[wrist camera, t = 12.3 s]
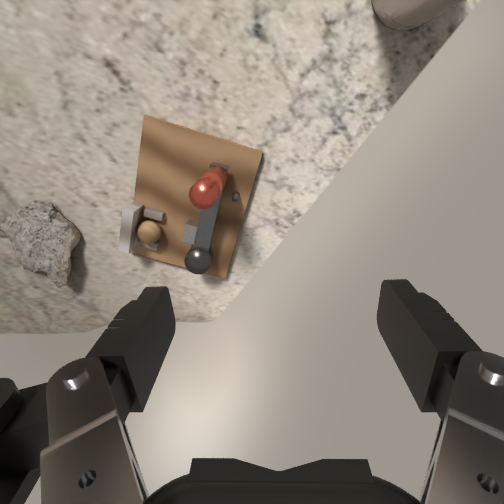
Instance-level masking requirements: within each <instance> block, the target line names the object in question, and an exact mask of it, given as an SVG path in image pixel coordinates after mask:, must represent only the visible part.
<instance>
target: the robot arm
mask: <svg viewBox="0 0 504 504" xmlns="http://www.w3.org/2000/svg"><path fill="white" fill-rule="evenodd" d="M464 1H466V0H372V4H373V7H374V10H375V13H376V14H377V16H378V17H379V19H380V20H381V21H382V22H383V23H384V24H385V25H386V26H388V27H390V28H392V29H396V30H409V29H413V28H416V27H418V26H420V25H422V24H424V23H426V22H427V21H429V20H431V19H433V18H435V17H437V16H439V15H441V14H442V13H444V12H446V11H448V10H450V9H451V8H453V7H455V6H457V5H459V4H460V3H462V2H464ZM377 324H378V329H379V331H380V333H381V335H382V337H383V339H384V341H385V343H386V345H387V347H388V349H389V351H390V353H391V355H392V356H393V358H394V360H395V362H396V364H397V366H398V368H399V370H400V372H401V374H402V376H403V378H404V380H405V382H406V383H407V385H408V387H409V389H410V391H411V393H412V395H413V397H414V399H415V401H416V402H417V405H418V407H419V409H420V410H421V412H437V413H438V415H439V417H440V418H441V421H440V424H439V427H438V431H437V435H436V439H435V442H434V447H433V450H432V454H431V458H430V461H429V466H428V469H427V473H426V476H425V480H424V484H423V487H422V491H421V494H420V497H419V501H418V500H417V499H416V498H415V497H413V496H412V495H410V494H409V493H407V492H406V491H404V490H403V489H401V488H400V487H397V486H396V485H394V484H392V483H390V482H388V481H386V480H383V479H381V478H379V477H376V476H372V474H371V470H370V467H369V463H368V460H367V459H321V460H318V461H315V462H311V463H308V464H304V465H301V466H298V467H294V468H291V469H287V470H284V471H274V470H271V469H268V468H264V467H261V466H257V465H254V464H251V463H248V462H244V461H241V460H238V459H233V458H232V459H230V458H229V459H228V458H193V459H192V463H191V468H190V473H189V474H187V475H184V476H181V477H179V478H177V479H174V480H172V481H171V482H169V483H167V484H165V485H164V486H162V487H161V488H160V489H158V490H157V491H155V492H154V493H153V494H151V495H150V496H149V494H148V491H147V489H146V486H145V483H144V480H143V477H142V474H141V471H140V468H139V465H138V462H137V459H136V455H135V452H134V449H133V446H132V443H131V440H130V437H129V433H128V430H127V427H126V425H125V420H126V418H127V416H128V414H129V412H143V410H144V408H145V405H146V403H147V400H148V398H149V395H150V393H151V390H152V388H153V386H154V383H155V381H156V378H157V376H158V373H159V371H160V368H161V366H162V363H163V361H164V358H165V356H166V354H167V351H168V349H169V346H170V344H171V341H172V339H173V337H174V333H175V316H174V312H173V307H172V302H171V298H170V293H169V290H168V288H167V287H166V286H163V287H146V288H145V289H144V290H143V292H142V293H141V295H140V296H139V297H138V299H137V300H132V301H131V302H129V303H128V304H127V305H125V306H124V307H123V308H121V309H120V311H119V312H118V313H117V315H116V316H115V317H114V320H113V321H111V323H110V324H109V326H108V329H106V330H105V331H104V332H103V334H102V335H101V337H100V338H99V339H98V341H97V342H96V343H95V345H94V346H93V347H92V349H91V350H90V352H89V353H88V354H87V356H86V357H85V358H81V359H77V360H75V361H72V362H70V363H68V364H66V365H64V366H63V367H61V368H60V369H59V370H57V371H56V372H55V373H54V374H53V375H52V377H51V378H50V379H49V381H48V382H47V383H43V384H40V385H36V386H32V387H28V388H24V389H21V390H18V388H17V387H16V385H15V383H14V382H13V380H11V379H9V378H0V504H24V503H25V502H26V500H27V498H28V496H29V495H30V493H31V491H32V489H33V487H34V486H35V484H36V482H37V480H38V479H39V477H41V504H504V358H503V357H501V356H498V355H496V354H492V353H489V352H484V351H482V350H481V349H480V348H479V346H478V345H477V344H476V343H475V342H474V341H473V340H472V339H471V338H470V336H469V335H468V334H467V333H466V332H465V331H464V330H463V329H462V328H461V327H460V326H459V324H458V323H457V322H454V319H453V318H452V317H451V316H450V314H449V313H446V310H445V309H444V308H443V307H442V306H441V305H440V304H439V303H438V301H437V300H435V299H433V298H432V297H430V296H428V295H427V294H425V293H418V292H417V290H416V289H415V288H414V287H413V286H412V284H411V283H410V282H409V281H408V280H406V279H400V280H399V279H398V280H384V281H383V282H382V285H381V291H380V297H379V305H378V311H377Z"/></svg>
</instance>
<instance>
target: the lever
mask: <svg viewBox="0 0 504 504" xmlns="http://www.w3.org/2000/svg"><path fill="white" fill-rule="evenodd" d="M228 169H229V166H226V165H222V164H219V163H216V162H212V163H211V164H210V168H209V169H208V170H207V171H206V172H205V173H204V174H203V175H202V176H201V177H200V178H199V179H198V180H197V181H196V182H195V183H194V184H193V185H192V187H191V188H190V190H189V199H190V201H191V203H192V204H193V205H194V206H195V207H197V208H199V209H201V211H200V216H199V221H198V222H196V221H193V220H188V221H187V222H186V224H185V229H184V234H183V240H182V242H185V243H189V244H193V246H192V247H191V248H190V250H189V251H188V253H187V255H186V257H185V260H184V263H185V266H186V268H187V269H188V270H189V271H190V272H192V273H195V274H202V273H205V272H206V271H207V270H208V269H209V267H210V264H211V261H212V258H213V253H212V251H211V249H210V246H211V241H212V237H213V233H214V229H215V224H216V220H217V216H218V212H219V207H220V203H221V199H222V194H223V190H224V186H225V184H226V182H227V173H228Z"/></svg>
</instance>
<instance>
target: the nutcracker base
mask: <svg viewBox="0 0 504 504" xmlns="http://www.w3.org/2000/svg"><path fill="white" fill-rule="evenodd" d="M262 153H263V152H262V151H259V150H256V149H253V148H249V147H246V146H243V145H240V144H237V143H234V142H230V141H227V140H224V139H221V138H218V137H214V136H211V135H208V134H205V133H202V132H199V131H195V130H192V129H189V128H186V127H183V126H180V125H176V124H173V123H170V122H167V121H164V120H161V119H157V118H154V117H151V116H148V115H144V119H143V128H142V136H141V144H140V153H139V161H138V170H137V178H136V187H135V195H134V202H132V203H131V204H130V205H128V206H127V207H125V208H124V209H123V210H122V220H121V229H120V239H119V249H118V251H120V252H124V253H128V254H129V253H133V254H137V255H141V256H144V257H148V258H152V259H155V260H159V261H163V262H166V263H170V264H174V265H177V266H181V267H185V268H186V266H185V263H184V260H185V257H186V255H187V253H188V251H189V250H190V248H191V247H192V246H193V244H189V243H185V242H182V240H183V234H184V229H185V224H186V222H187V221H188V220H193V221H196V222H198V221H199V216H200V211H201V209H199V208H197V207H195V206H194V205H193V204H192V203H191V201H190V199H189V190H190V188H191V187H192V185H193V184H194V183H195V182H196V181H197V180H198V179H199V178H200V177H201V176H202V175H203V174H204V173H205V172H206V171H207V170H208V169H209V168H210V164H211V163H212V162H216V163H219V164H222V165H226V166H229V169H228V173H227V182H226V184H225V186H224V190H223V194H222V199H221V203H220V207H219V212H218V216H217V220H216V224H215V229H214V233H213V237H212V241H211V246H210V249H211V251H212V253H213V258H212V261H211V264H210V267H209V269H208V270H207V271H206V272H205V273H207V274H210V275H214V276H218V277H221V278H226V275H227V271H228V268H229V264H230V261H231V258H232V254H233V251H234V248H235V244H236V241H237V237H238V234H239V231H240V227H241V224H242V221H243V217H244V214H245V210H246V207H247V204H248V200H249V197H250V194H251V190H252V187H253V183H254V180H255V177H256V173H257V170H258V167H259V163H260V160H261V156H262ZM144 221H154V222H156V223H157V224H158V225H159V226H160V228H161V236H160V238H159V239H158V240H157V241H156V242H154V243H145V242H143V241H141V240H140V239H139V237H138V235H137V229H138V226H139V225H140V224H141V223H142V222H144Z"/></svg>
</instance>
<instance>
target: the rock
mask: <svg viewBox="0 0 504 504" xmlns="http://www.w3.org/2000/svg"><path fill="white" fill-rule="evenodd" d="M0 231H2V233H3V234H4V235H6V236H8V237H9V239H10V241H11V242H12V244H13V249H14V251H15V254H16V256H17V258H18V259H19V261H20V263H21V264H22V266H23V268H24V269H25V270H30V271H31V272H36V271H42V272H45V273H46V274H47V276H48V277H49V278H50V279H51V280H52V282H53V283H55V284H56V286H57V287H59V288H60V287H62V286H65V285H66V284H67V277H68V276H69V274H70V271H71V258H70V257H71V251H72V250H73V249H74V248H75V246H76V245H77V244H78V243H79V241H80V237H81V234H80V232H79V231H78V230H77V228H76V227H75V225H74V224H73V223H72V222H70V221H68V220H66V219H65V218H64V216H63V215H62V213H61V211H60V210H59V209H58V208H57V207H56V206H55V205H54V204H52V203H50V202H45V201H34V202H31V203H30V204H29V205H27V206H23V207H21V208H20V209H19V210H18V211H17V212H16V213H15V214H13V215H11V216H8V217H7V218H5V219H4V220H3V221H2V222H1V223H0Z"/></svg>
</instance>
